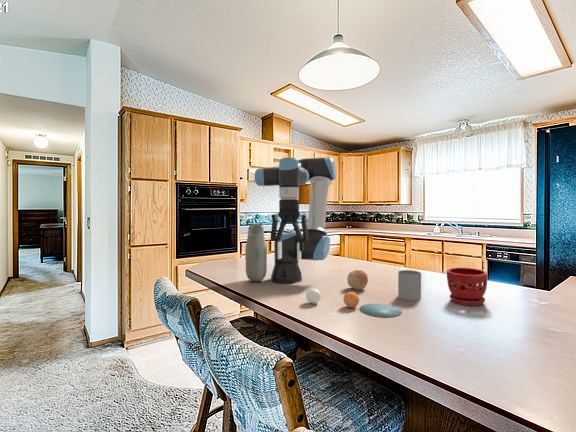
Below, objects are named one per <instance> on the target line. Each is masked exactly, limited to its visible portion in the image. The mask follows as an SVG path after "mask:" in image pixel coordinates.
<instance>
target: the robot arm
mask: <svg viewBox="0 0 576 432" xmlns="http://www.w3.org/2000/svg"><path fill="white" fill-rule="evenodd" d="M278 163H279V164H278V166H272V167H262V168H261V167H260V168H257V169H256V170H255V171H254V182H255V184H256V185H257V186H260V187H274V186H278V187H279V188H278V190H279V191H278V192H279V193H278V194H279V195H278V197H279V201H278V202H279V203H278V204H279V205H278V206H279V207H278V209H279V210H278V211H279V212H277V213H275V214H271V220H272V223H271V231H270V240H271V241H274V244H273V245H274V247H273V248H274V265H273V268H272V272H271V274H270V280H271V282H275V283H279V284H291V283H292V284H293V283H298V282H301V281H302V279H303V276H302V275H303V274H302V271H301V269H300V265H299V261H301V260H305V261H306V260H307V261H309V260H310V261H315V262H317V261H324V260H326V258H327V257H328V255H329V252H330V247H331V237H329V236H328V233H327V232H326V230H325V226H326V217H327V216H326V214H327V207H328V206H327V205H328V195H329V187H330V186H332V184H333V181H335V180H336V178H337V172H336V171H337V169H336V165H335V161H334V158H332V157H326V156H323V157H315V158H314V157H312V158H301V159H299V158H297V157H282V158H280V159H279V161H278ZM308 182H309V184H310V185H311V190H310V195H309V196H310V197H309V208H308V213H307V214H303V213H300V200H299V198H300V186H304V185H306V184H307V183H308ZM279 218H280V219H279ZM299 218H300V220H301V223H300V224H301V228H300V225H299V222H298V219H299ZM279 220H280V222H278V221H279ZM278 223H279V224H280V225H279V227H278ZM287 224H291V225H292V227H293V228H294V229H293V230H294V231H292V232H284V231H285V227H286V226H287ZM301 230H302V231H301Z"/></svg>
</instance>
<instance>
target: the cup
mask: <svg viewBox="0 0 576 432" xmlns="http://www.w3.org/2000/svg"><path fill="white" fill-rule="evenodd" d="M397 275H398V276H397V277H398V278H397V280H398V281H397V282H398V283H397V287H398V288H397V292H398V293H397V297H398V298H399V299H401V300H406V301H412V302H413V301H416V302H417V301H420V300H421V299H422V273H421V271H417V270H408V269H406V270H405V269H401V270H399V271H398V272H397Z"/></svg>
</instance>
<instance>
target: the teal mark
mask: <svg viewBox="0 0 576 432" xmlns="http://www.w3.org/2000/svg"><path fill="white" fill-rule="evenodd" d="M359 311H360V312H361V313H363V315H367V316H371V317H374V318H376V317H377V318H394V317H398V316H399V317H400V316H401V315H402V309H400V308H399V307H396V306H395V305H391V304H384V303H367V304H362V305H361V306H359Z"/></svg>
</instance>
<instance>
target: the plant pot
mask: <svg viewBox="0 0 576 432" xmlns="http://www.w3.org/2000/svg"><path fill="white" fill-rule="evenodd" d="M446 281H447V286H448V289H449V292H450V294H449V298H450V299H451V300H452V302H454V303H456V304H460V305H465V306H472V307H473V306H474V307H476V306H480V305H483V304H484V303H485V301H486V298H485V297H484V296H485V294H486V291H487V287H488V273H487V272H486V271H485V270H482V269H478V268H472V267H451V268H449V269H448V268H447V270H446Z"/></svg>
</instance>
